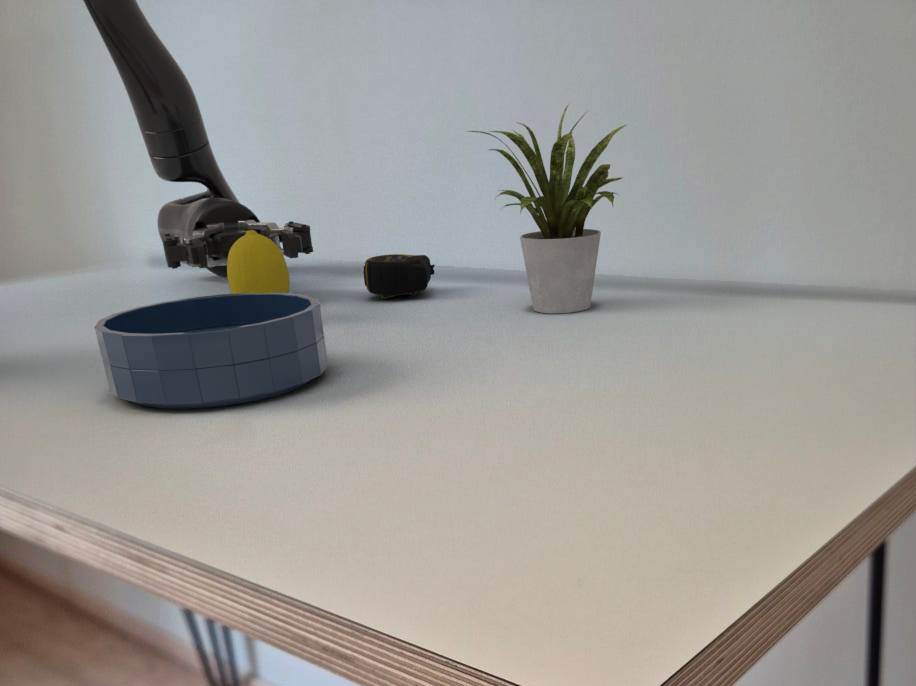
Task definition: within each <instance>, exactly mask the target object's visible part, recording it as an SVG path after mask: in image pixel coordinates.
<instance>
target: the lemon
mask: <svg viewBox="0 0 916 686" xmlns="http://www.w3.org/2000/svg"><path fill="white" fill-rule="evenodd" d="M227 276H228V278H227V282H228V287H229V290H230V294H241V293H289V292H290V272H289V268H288V265H287V262H286V259H285V255H283V254H282V252H281V250H280V249H279V247H278V246H277V245H276V244H275V243H274V242H273V241H272V240H270V239H269V238H267V237H265V236H263V235H260V234H258V233H257V232H256V231H255V230H249V231H247V232H246V234H245V235H244V236H242V237H241V238H239V239H238V240H237V241H236V242H235V243H234V244H233V246H232V247H231V249H230V251H229V254H228V261H227Z"/></svg>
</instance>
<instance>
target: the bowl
mask: <svg viewBox="0 0 916 686" xmlns="http://www.w3.org/2000/svg"><path fill="white" fill-rule="evenodd" d="M94 330H95V331H94V332H95V335H96V340H97V343H98V347H99V351H100V356H101V360H102V363H103V367H104V371H105V375H106V380H107V383H108V388H109V392H110V393H111V394H112V395H114V396H115V397H116V398H117V399H121V400H124V401H128V402H132V403H135V404H137V405H139V406H144V407H147V408H156V409H165V410H166V409H167V410H168V409H169V410H172V409H174V410H190V409H191V410H192V409H206V408H218V407H219V408H220V407H227V406H234V405H241V404H247V403H253V402H257V401H261V400H265V399H266V400H267V399H270V398H274V397H277V396H280V395H283V394H287V393H290V392H293V391H295V390H297V389H300V388H301V387H303V386H305V385H307V384H308V383H310V381H312V380H313V379H315V378H317V377H319V376H321V375H323V373H324V372H325V371H326V370H327V369H328V367H329V361H328V355H327V347H326V340H325V333H324V324H323V317H322V310H321V304H320V302H319V301H318V299H317V298H316V297H312V296H310V295H306V294H302V293H301V294H300V293H241V294H232V293H228V294H227V293H226V294H215V295H205V296H195V297H188V298H180V299H173V300H168V301H161V302H157V303H152V304H147V305H143V306H142V305H141V306H136V307H132V308H129V309H125V310H123V311H119V312H115V313H112V314H110V315H109V316H106V317H103V318H102V319H100V320H97V322H96V324H95V325H94Z"/></svg>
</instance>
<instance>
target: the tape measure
mask: <svg viewBox="0 0 916 686" xmlns="http://www.w3.org/2000/svg"><path fill="white" fill-rule="evenodd" d="M434 268H435V264H431V259H430V258H429V257H428V256H427V255H425V254H417V255H415V254H414V255H413V254H405V253H404V254H403V253H399V254H397V253H396V254H395V253H394V254H382V255H376V256H372V257H369V258H367V259H366V260H365V261H364V266H363V281H364V282H363V283H364V286H365V287H366V290H367V291H368V292H369V293H370V294H372V295H376V296H381V298H382V299H389V298H393V297H397V296H403V295H411V296H413V297H415V296H416V295H417V293H419V292H424V291H426V290H427V288H428V286H429V283H430V281H431V278H432V275H435V270H434Z"/></svg>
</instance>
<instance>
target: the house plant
mask: <svg viewBox="0 0 916 686" xmlns="http://www.w3.org/2000/svg"><path fill="white" fill-rule="evenodd" d="M570 103H571V101H569V103H567V105H566V107H565V109H564V110H563V112H562V115H561V117H560V121H559V124H558V130H557V137H556V141H555V142H554V143H553V145H552V149H551V150H550V151H551V152H550V160H549V177H548V175H547V171H546V168H545V165H544V160H543V157H542V154H541V150H540V147H539V143H538V140H537V138H536V136H535V133H534V131H533V130H532V129H531V128H530V127H528V126H527V125H526V124H524V123H522V122H518V121H516V123H517V124H519V125H522V126H523V127H524V128H525V129H526V130H527V132H528V135H529V136H530V139H531V141H532V146H533V148H532V147H531V145H530V144H529V143H528V141H527V140H526V139H525V137H524V136H523V134H521V133H519V132H517V131H515V130H514V129H512V131H513V132H510V131H504V130H490V131H489V132H490V133H489V132H486V131H479V130H468V133H469V132H471V133H479V134H485V135H489V136H490V137H493V138H495V139H497V140H499V142H501V143H502V144H504V145H505V146H506V148H507V149H508V150H509V151H510V152H511V154H510V153H509V152H507V151H505V150H503V149H500V148H490V149H488V151H494V152H497V153H500V154H501V155H502V156H503V157H504V158H505V159H506V160H507V161H508V162H509V163H510V164H511V165H512V167H513V168H514V169H515V171H516V172H517V174H518V176H519V177H520V179H521V181H522V182H523V185H524V188H526V190H527V193H528V195H529V196H524V195H523V194H522V193H520V192H517V191H516V190H510V189H498V190H497V191H499V192H500V191H501V192H500V193H499V194H497V195H496V196H495V198H494V200H496V198H498V197H499V196H501V195H507V196H511V197H514V198H516V199H518V201H519V202H517V203H507V204H505V205H504V206H502V207H501V208H500V210H501V209H503V208H506V207H509V206H510V207H511V206H520V210H519V211H520V212H519V214H521V213H522V211H523V209H526V210H527V211H528V212H529V214H530V215H531V217H532V219H533V221H534V222H535V223H536V225H537V227H538V229H539V230H540V231H531V232H528V233H524V234H521V235H520V237H519V240H520V245H521V250H522V256H523V262H524V267H525V272H526V277H527V278H526V279H527V283H528V288H529V295H530V300H531V304H532V309H533V311H534V312H537V313H542V314H568V313H578V312H583V311H586V310H589V309H590V308H591V303H592V296H593V290H594V285H595V284H594V282H595V278H596V277H595V275H596V269H597V261H598V256H599V255H598V254H599V247H600V240H601V234H602V233H601V232H602V231H601V230H598V229H591V228H585V223H586V219H587V217H588V215H589V214H590V211H591V210H592V209H593V207H594V206H595V205H596V204H597V203H598V202H599V201H600V200H601V199H602V198H606V199H607V200H608V201H609V202H610V203H611V206H612V207H614V200H615V194H616V195H618V196H619V194H618V193H617V192H614V191H608V190H604V191H603V190H602V191H598V190H599V189H600V188H602V187H604V186H606V185H608V184H610V183H613V182H616V181H620V180H622V179H623V177H613V178H612V177H611V178H608V177H609V170H610V169H611V164H609V163H607V164H605V163H603V164H600V165H599V166H598V167H597V169H595V170H594V172H593V173H592V174H591V175H590V176H589V174H590V172H591V171H592V169H593V167H594V165H595V164H596V162H597V160H598V159H599V158H600V156H601V155H602V153H603V152H604V151H605V150H606V148H607V147H608V145H609V144H610V142H611V140H612V139H613V137H614V136H615V135H616V134H617V133H618V132H619V131H621V130H622V129H624V127H626V126H628V125H629V124H624V125H622V126H619V127H617V128H615V129H613V130H611V132H609V133H608V134H607V135H605V137H603V138H602V139H601V140H599V141H598V143H596V144H595V146H594V147H593V148H592V149H591V150H590V151H589V153H588V155H587V156H586V157H585V159H584V161H583V162H582V164H581V166H580V168H579V170H578V172H577V174H576V177H575V180H574V182H573V185H572V187H571V184H572V176H573V169H574V166H575V165H574V164H575V160H576V144H575V139H574V137H573V130H574V129H575V127H577V125H578V123H579V122H580V121H581V119H583V117H584V116H585V115H586V114H587V113H588V111H586V112H584V114H583V115H581V117H580V118H579V119H578V120H577V122H576V123H575V124H574V125H573V127H572V128H571V129H570V131H569V133H566V134H563V135H562V128H563V122H564V118H565V115H566V112H567V110H568V107H569V105H570ZM491 133H498V134H502V135H504V136H506V137H507V138H508V139H509V140H510V141H511V142H513V144H515V146H517V148H518V149H519V150H520V151H521V153H522V154H523V156H524V157H525V159H526V161H527V162H528V164H529V166H530V168H531V170H532V172H533V174H534V177H535V180H536V182H537V184H538V188H539V189H540V192H541V194H542V195H541V194H540V193H539V191H538V189H537V187H536V185H535V183H534V182H533V180H532V178H531V177H530V175H529V174H528V172H527V171H526V169H525V167H524V166H523V165H522V163H521V162H520V160H519V159H518V158H517V156H516V154H515V153H514V152H513V151H512V149H511V148H510V147H509V146H508V144H506V143H505V142H504V141H502V140H501V139H500V138H499V137H498V136H495V135H493V134H491ZM512 155H513V156H514V157H513V156H512ZM588 176H589V178H588ZM527 177H528V178H527ZM587 178H588V179H587ZM529 180H530V182H529ZM586 180H587V181H586ZM585 182H586V183H585ZM584 184H585V185H584ZM531 185H532V186H533V187H534V189H533V187H532V186H531ZM534 190H535V191H536V193H537V195H538V196H536V193H535V192H534ZM596 195H598V196H596ZM595 196H596V197H595Z"/></svg>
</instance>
